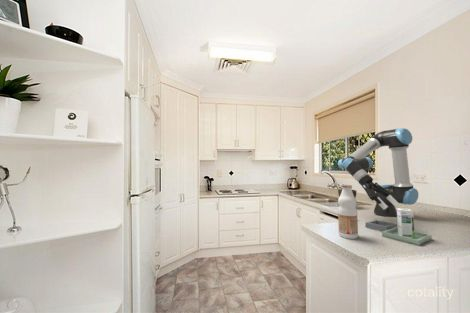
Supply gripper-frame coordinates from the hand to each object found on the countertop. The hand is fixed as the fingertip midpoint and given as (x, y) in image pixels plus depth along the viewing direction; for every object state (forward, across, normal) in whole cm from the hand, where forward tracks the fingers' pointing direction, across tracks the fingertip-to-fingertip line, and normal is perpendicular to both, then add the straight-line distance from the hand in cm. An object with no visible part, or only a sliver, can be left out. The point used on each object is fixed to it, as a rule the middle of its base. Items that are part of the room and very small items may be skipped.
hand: (391, 206), depth 120 cm
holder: (+4, -8, -18) cm, 20 cm away
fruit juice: (+2, +22, -20) cm, 30 cm away
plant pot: (-27, -49, -51) cm, 76 cm away
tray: (+15, 0, -7) cm, 17 cm away
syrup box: (+15, 0, -6) cm, 16 cm away
